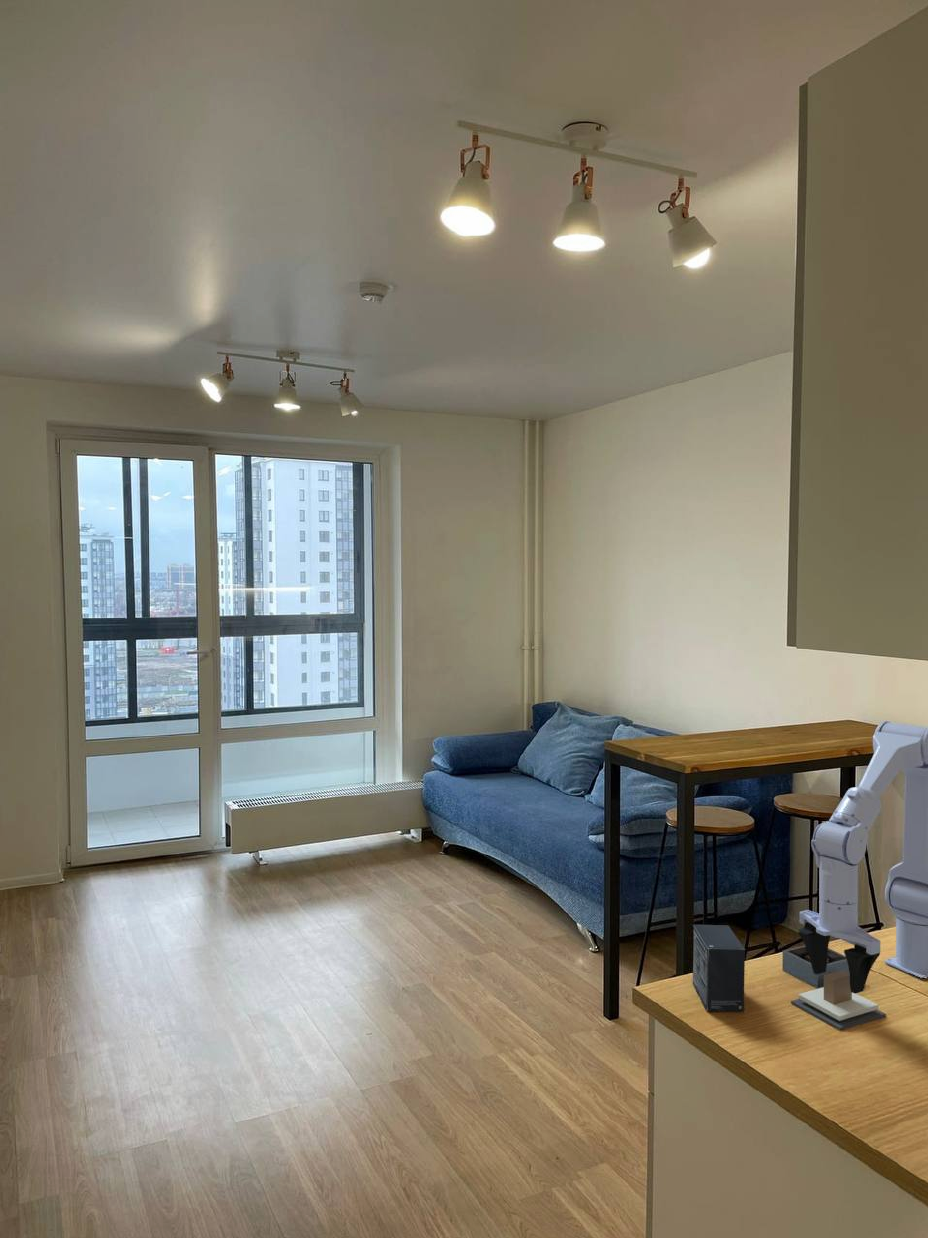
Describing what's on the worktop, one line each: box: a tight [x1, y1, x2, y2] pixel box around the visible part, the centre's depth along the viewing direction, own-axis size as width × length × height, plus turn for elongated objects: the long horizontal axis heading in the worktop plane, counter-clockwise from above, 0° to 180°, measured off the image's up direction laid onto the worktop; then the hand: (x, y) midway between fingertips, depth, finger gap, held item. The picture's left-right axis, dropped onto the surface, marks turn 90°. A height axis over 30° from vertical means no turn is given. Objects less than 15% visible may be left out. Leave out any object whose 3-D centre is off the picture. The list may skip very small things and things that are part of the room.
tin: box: [781, 944, 849, 989], centre depth 161 cm, size 8×8×4 cm
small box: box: [692, 924, 746, 1013], centre depth 152 cm, size 11×6×10 cm, turn 179°
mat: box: [790, 998, 887, 1031], centre depth 148 cm, size 10×10×1 cm
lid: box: [797, 970, 879, 1021], centre depth 148 cm, size 8×8×5 cm
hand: (838, 981), depth 148 cm, fingers open, 7 cm apart
